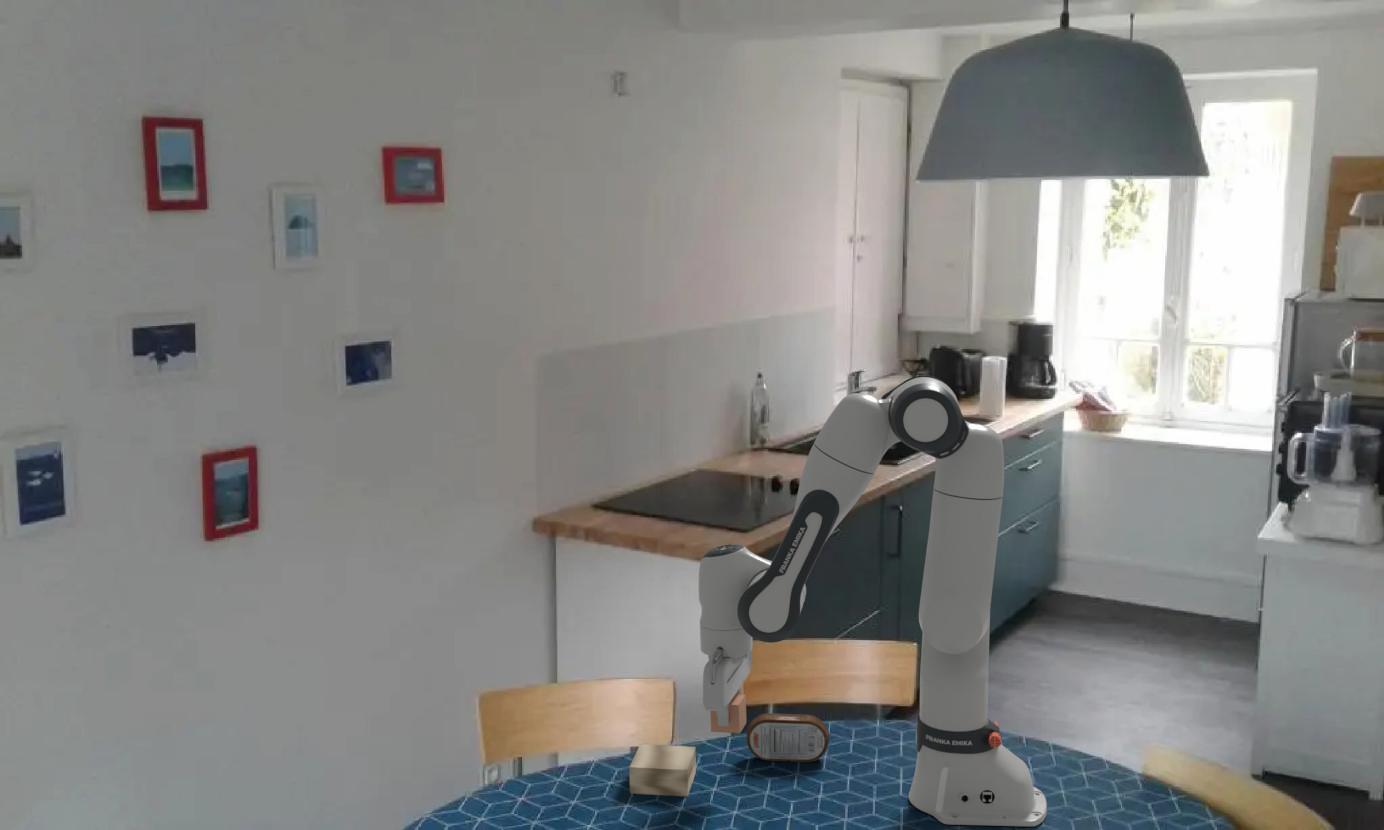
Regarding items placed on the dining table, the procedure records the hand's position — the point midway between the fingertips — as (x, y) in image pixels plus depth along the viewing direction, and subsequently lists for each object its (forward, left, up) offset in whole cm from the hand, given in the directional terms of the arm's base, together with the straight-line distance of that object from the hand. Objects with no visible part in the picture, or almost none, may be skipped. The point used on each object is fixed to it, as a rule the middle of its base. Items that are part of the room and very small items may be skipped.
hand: (728, 717), depth 217 cm
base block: (+12, +1, -13) cm, 17 cm away
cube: (0, 0, -2) cm, 2 cm away
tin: (-7, -14, -13) cm, 20 cm away
